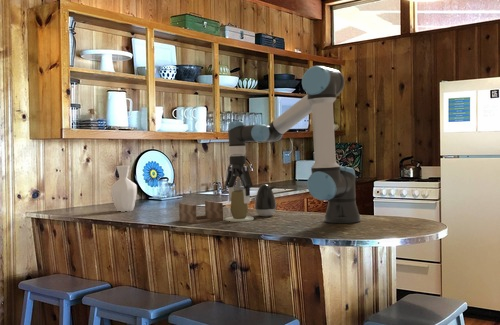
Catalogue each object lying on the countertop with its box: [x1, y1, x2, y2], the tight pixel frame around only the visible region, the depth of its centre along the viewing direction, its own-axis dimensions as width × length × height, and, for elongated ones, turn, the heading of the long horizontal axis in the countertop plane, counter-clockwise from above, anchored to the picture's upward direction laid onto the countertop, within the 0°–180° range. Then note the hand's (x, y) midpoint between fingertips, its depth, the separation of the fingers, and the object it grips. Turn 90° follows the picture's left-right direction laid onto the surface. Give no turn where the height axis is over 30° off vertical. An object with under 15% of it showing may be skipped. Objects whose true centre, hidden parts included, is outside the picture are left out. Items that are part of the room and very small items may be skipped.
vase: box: [110, 165, 138, 213], centre depth 306 cm, size 14×14×25 cm
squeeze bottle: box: [230, 178, 249, 219], centre depth 253 cm, size 8×8×18 cm
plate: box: [225, 215, 255, 223], centre depth 253 cm, size 13×13×1 cm
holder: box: [178, 200, 224, 225], centre depth 255 cm, size 15×15×8 cm
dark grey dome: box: [254, 183, 277, 217], centre depth 265 cm, size 10×10×15 cm
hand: (239, 202), depth 253 cm, fingers open, 13 cm apart
